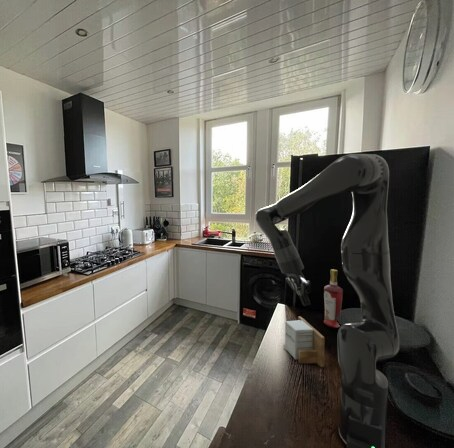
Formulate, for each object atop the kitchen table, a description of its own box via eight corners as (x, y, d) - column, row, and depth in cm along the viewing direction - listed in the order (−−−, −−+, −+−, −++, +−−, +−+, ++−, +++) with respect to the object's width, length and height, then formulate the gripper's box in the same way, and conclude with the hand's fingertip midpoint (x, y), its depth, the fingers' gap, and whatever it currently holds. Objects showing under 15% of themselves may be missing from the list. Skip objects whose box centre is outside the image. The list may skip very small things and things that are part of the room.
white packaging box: (284, 348, 105) (284, 320, 103) (301, 347, 105) (302, 319, 103) (294, 360, 97) (295, 330, 96) (313, 358, 97) (314, 328, 96)
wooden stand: (303, 367, 93) (303, 338, 92) (282, 342, 109) (282, 316, 107) (323, 367, 93) (324, 337, 91) (300, 342, 109) (300, 316, 107)
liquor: (319, 323, 123) (320, 268, 119) (331, 321, 124) (333, 267, 121) (332, 330, 116) (334, 273, 112) (345, 328, 117) (347, 271, 113)
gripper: (308, 255, 82) (329, 305, 80) (288, 254, 95) (306, 297, 93) (287, 263, 82) (307, 313, 80) (270, 260, 95) (287, 304, 93)
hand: (307, 304), depth 87 cm, fingers closed
